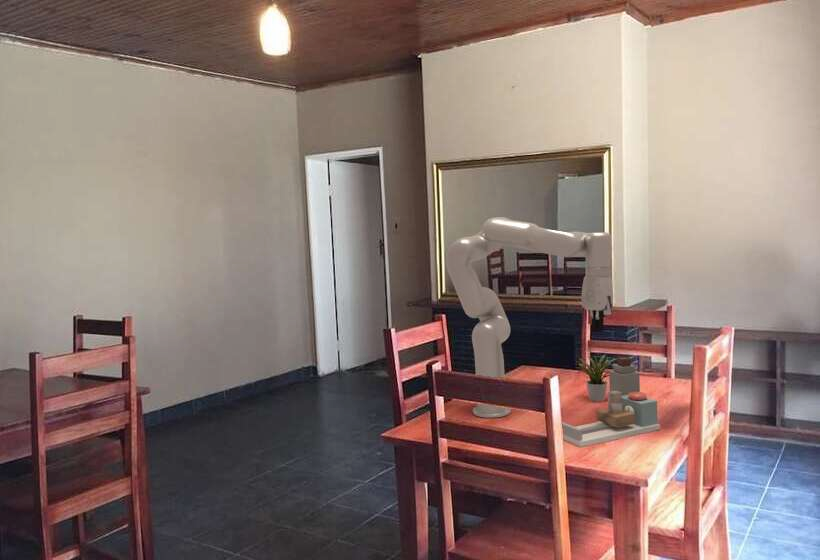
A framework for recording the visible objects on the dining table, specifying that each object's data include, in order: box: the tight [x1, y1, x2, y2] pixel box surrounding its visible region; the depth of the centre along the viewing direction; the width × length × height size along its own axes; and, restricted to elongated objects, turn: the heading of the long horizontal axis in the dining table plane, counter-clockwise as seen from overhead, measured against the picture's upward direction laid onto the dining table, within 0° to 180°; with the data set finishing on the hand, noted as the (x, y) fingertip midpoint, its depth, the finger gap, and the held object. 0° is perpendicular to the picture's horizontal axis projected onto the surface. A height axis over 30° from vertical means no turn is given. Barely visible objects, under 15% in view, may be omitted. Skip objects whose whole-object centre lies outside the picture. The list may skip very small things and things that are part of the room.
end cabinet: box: [622, 395, 659, 427], centre depth 206 cm, size 10×6×7 cm, turn 24°
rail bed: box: [562, 421, 661, 448], centre depth 202 cm, size 12×29×4 cm, turn 114°
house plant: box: [578, 354, 616, 403], centre depth 237 cm, size 14×14×16 cm
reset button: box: [628, 391, 647, 401], centre depth 206 cm, size 5×5×3 cm
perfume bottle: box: [608, 356, 641, 396], centre depth 220 cm, size 7×7×18 cm
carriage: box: [595, 391, 635, 428], centre depth 203 cm, size 9×7×9 cm
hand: (597, 331), depth 210 cm, fingers closed
